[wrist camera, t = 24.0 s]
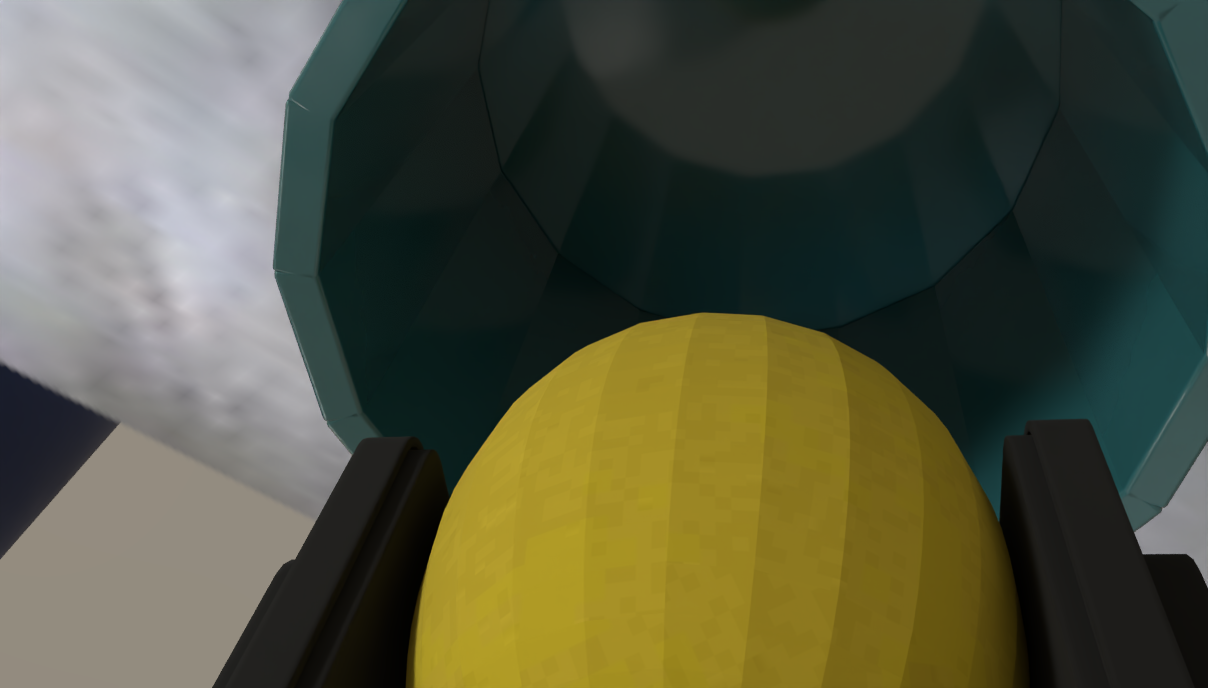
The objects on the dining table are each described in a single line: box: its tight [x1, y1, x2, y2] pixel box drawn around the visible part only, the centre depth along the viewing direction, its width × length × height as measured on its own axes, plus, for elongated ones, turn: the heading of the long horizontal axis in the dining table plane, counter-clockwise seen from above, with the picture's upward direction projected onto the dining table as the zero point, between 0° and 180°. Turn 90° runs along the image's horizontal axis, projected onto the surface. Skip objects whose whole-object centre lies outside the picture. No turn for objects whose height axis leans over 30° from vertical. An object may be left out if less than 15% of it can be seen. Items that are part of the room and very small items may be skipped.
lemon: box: [406, 313, 1030, 688], centre depth 11 cm, size 6×6×8 cm
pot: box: [273, 0, 1208, 532], centre depth 21 cm, size 13×19×10 cm
